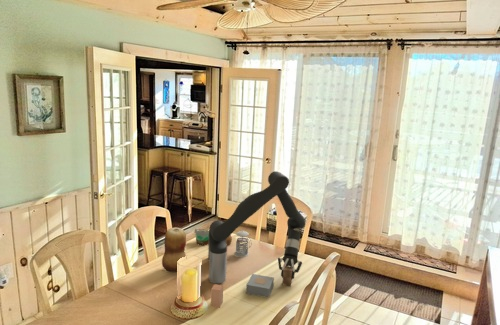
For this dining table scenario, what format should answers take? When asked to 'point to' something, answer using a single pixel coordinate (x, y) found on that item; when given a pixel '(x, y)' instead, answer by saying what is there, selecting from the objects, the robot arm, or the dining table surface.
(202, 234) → the food container
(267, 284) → the slate plinth
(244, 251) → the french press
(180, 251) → the butternut squash
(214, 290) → the terracotta block
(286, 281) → the walnut block
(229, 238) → the bread roll
